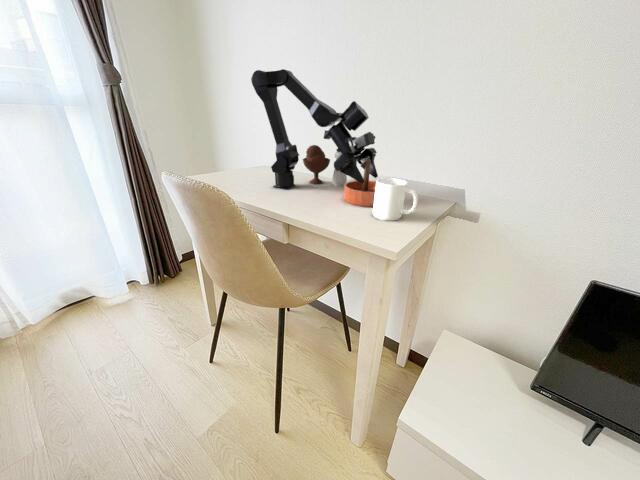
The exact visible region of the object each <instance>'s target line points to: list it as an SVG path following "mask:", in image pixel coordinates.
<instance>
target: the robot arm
mask: <svg viewBox="0 0 640 480" xmlns="http://www.w3.org/2000/svg"><path fill="white" fill-rule="evenodd" d="M293 73H294V72H292V71H291V70H289V69H284V68H282V69H280V70H271V71H265V70H261V69H256V70H255V71H254V72H253V73H252V75H251V78H250V81H251V85H252V87H253V89H254V91H255V94H256V95H257V96H258V98H259V99H260V100H261V102H262V103H263V106H264V109H265V113H266V115H267V119H268V122H269V125H270V129H271V132H272V135H273V138H274V141H275V144H276V145H275V159H276V160H275V162H274V163H273V164H271V166H270V169H271V171H272V173H274V182H275V184H274V185H273V186H272V187H273V188H277V189H281V190H289V189H291V188H293V187H296V183H295V175H294V171H293V170H295V168H296V165H297V164H298V162H299V158H300V153H299V152H298V147H297V144H292V143H291V141H290V140H289V136H288V132H287V129H286V126H285V123H284V120H283V116H282V112H281V109H280V105H279V103H278V91H279V90H278V88H279V87H285V88H286V89H287V90H288V91H289V92H290V93H291V94H292V95H293V96H294V97H295V98H296V99H297V100H298V101H299V102H300V103H301V104H302V105H303V106H304V107H305V108H306V109H307V110H308V112H309V114H310V116H311V118H312V119H313V121H314V122H315V124H317V126H318V127H321V128H327V127H330V128H329V129H328V130H326V129H325V130H324V133H323V140H330V139H331V140H332V142H333V143H334V144H335V146H336V152H341V153H342V155H341V156H340V157H339V158H338V159H337V158H336V159H337V160H336V159H335V161H333V168H334V169H336V171H340V170H341V171H340V172H341V173H344V174H346V176H348V177H349V178H351V179H353V180H354V181H358V182H360V183H363V182H364V179H363V178H364V176H363V175H362V173H361V172H360V171H361V170H360V169H359V168H358V165H357V164H359V165H360V167H361V168H362V169H363V170H364V168H365V160H366V159H370V160H371V164H370V174H369V176H371V177H373V178H374V179H377V178H378V177H379V174H378V172H377V168H376V165H375V158H376V156H377V153H378V151H376V149H375V147H368V146H370V145H374V144H375V143H376V142H375V139H376V135H374V133H372V131H367V132H366V133H364V134H362V135H360V136H359V137H356V136H352V135H351V133H350V132H351V131H354V132H355V131H357V130H358V129H359V128H360V127H361V126H362V125H363V124H364V123H365V122H367V120H368V119H369V115H368V113H367V111H366V110H365V109H364V108H363V107H362V106H361V105H360V104H359V103H357V102H356V101H354V100H353V101H351V103H350V104H349V106H348V107H347V108H346V109H345V110H344V111H342V112H337V111H336V109H334V108H333V107H331V106H330V105H328V104H327V103H325V102H323V101H321V100H320V99H318V98H317V97H316V95H314V93H312V92H311V91H310V89H308V87H306V86H305V85H304V84H303V83H302V82H301V81H300V80H299V79H298V78H297V77H296V76H295V75H294V74H293ZM337 122H338V123H337ZM365 147H368V148H365Z"/></svg>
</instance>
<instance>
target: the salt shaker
mask: <svg viewBox="0 0 640 480" xmlns="http://www.w3.org/2000/svg"><path fill="white" fill-rule="evenodd" d="M341 155H342V153H341V152H337V151H336V152H335V153H334V158H335V161H336V160H337V159H338V158H339V157H340V156H341ZM340 171H341V170H340ZM340 171H336V169H335V168H334V169H333V174H332V183H333V185H334V186H335V187H344V184H345V183H347V182H348V177H347V175H346V174H344V173H341V172H340Z"/></svg>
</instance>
